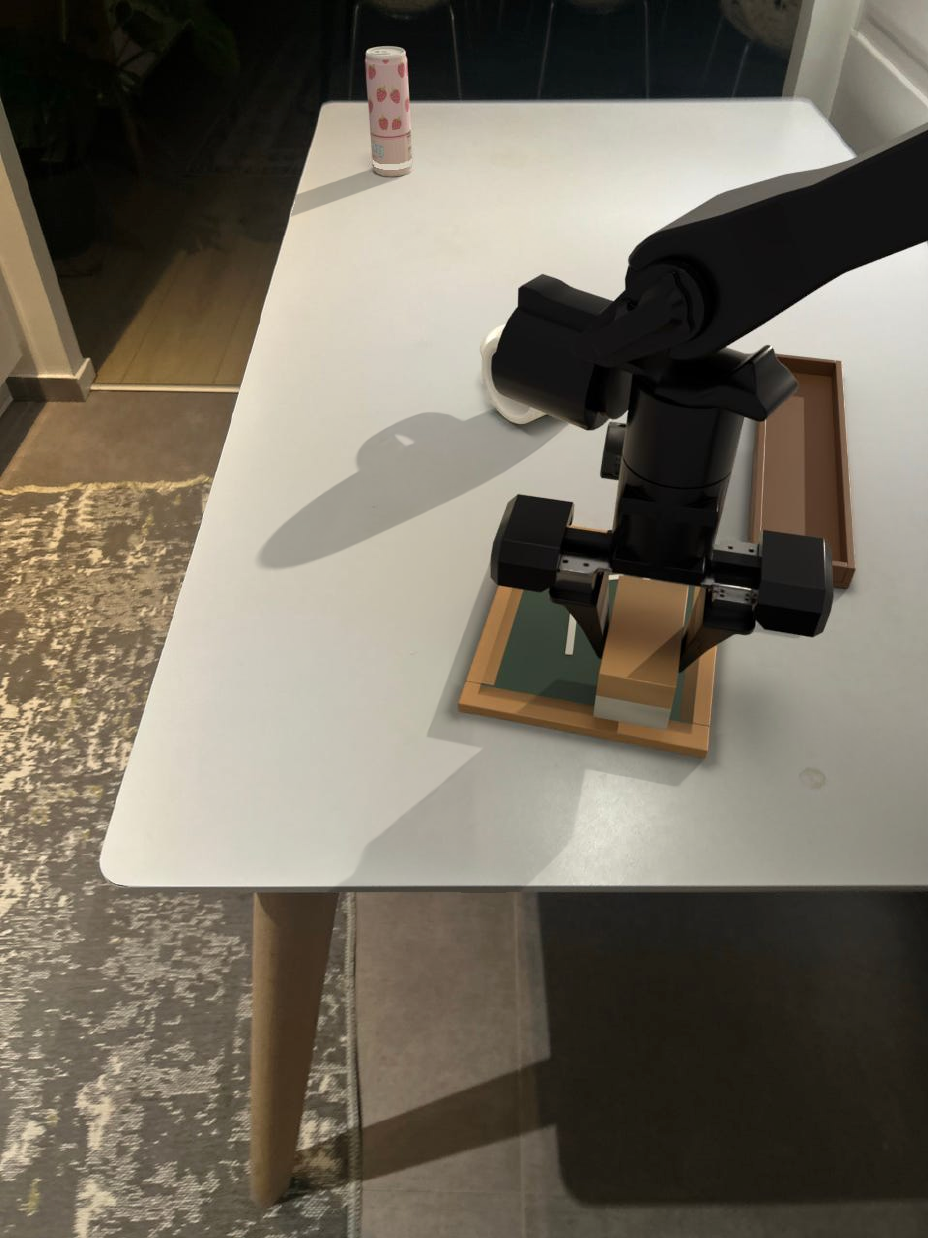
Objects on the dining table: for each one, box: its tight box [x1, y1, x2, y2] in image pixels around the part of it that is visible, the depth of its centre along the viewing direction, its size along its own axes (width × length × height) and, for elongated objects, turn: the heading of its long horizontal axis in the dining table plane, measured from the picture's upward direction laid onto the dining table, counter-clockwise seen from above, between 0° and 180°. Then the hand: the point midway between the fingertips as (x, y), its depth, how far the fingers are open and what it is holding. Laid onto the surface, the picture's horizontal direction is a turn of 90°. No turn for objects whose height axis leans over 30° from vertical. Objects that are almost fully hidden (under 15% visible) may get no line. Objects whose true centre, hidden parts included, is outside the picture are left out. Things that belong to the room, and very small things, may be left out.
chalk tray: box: [747, 353, 857, 589], centre depth 79 cm, size 7×31×2 cm, turn 166°
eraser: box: [593, 575, 689, 730], centre depth 58 cm, size 9×4×4 cm, turn 166°
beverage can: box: [364, 45, 414, 178], centre depth 127 cm, size 6×6×15 cm
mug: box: [479, 323, 547, 425], centre depth 86 cm, size 12×10×8 cm
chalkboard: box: [457, 525, 718, 759], centre depth 66 cm, size 16×20×1 cm
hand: (640, 660), depth 59 cm, fingers closed on eraser, 4 cm apart
